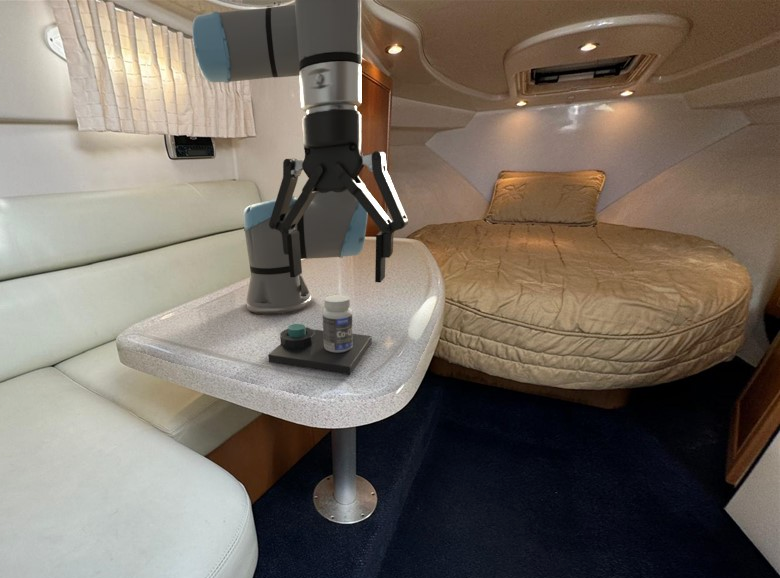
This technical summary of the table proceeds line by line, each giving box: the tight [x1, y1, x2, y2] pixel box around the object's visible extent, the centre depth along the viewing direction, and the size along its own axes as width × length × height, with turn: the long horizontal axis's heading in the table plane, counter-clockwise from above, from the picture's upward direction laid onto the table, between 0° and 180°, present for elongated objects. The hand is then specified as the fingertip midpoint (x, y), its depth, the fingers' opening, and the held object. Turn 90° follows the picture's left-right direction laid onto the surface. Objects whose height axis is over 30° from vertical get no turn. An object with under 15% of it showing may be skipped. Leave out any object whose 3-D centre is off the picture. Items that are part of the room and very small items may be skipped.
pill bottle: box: [322, 294, 353, 353], centre depth 58 cm, size 5×5×8 cm
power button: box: [287, 323, 306, 338], centre depth 62 cm, size 3×3×2 cm
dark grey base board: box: [267, 326, 373, 376], centre depth 61 cm, size 14×12×3 cm
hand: (336, 277), depth 55 cm, fingers open, 13 cm apart
